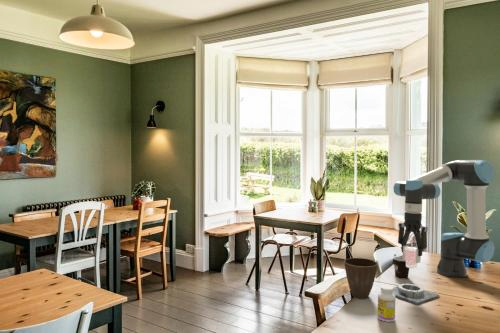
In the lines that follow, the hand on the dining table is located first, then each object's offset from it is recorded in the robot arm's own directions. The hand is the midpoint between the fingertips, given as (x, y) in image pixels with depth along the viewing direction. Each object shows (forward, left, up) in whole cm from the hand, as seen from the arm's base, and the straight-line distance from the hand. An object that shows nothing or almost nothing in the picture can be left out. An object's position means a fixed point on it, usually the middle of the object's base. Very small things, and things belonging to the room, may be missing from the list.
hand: (411, 260), depth 184 cm
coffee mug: (-22, -20, -16) cm, 34 cm away
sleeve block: (0, 0, -16) cm, 16 cm away
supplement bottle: (+34, +11, -16) cm, 39 cm away
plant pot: (+22, -12, -16) cm, 30 cm away
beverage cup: (0, 0, -3) cm, 3 cm away
